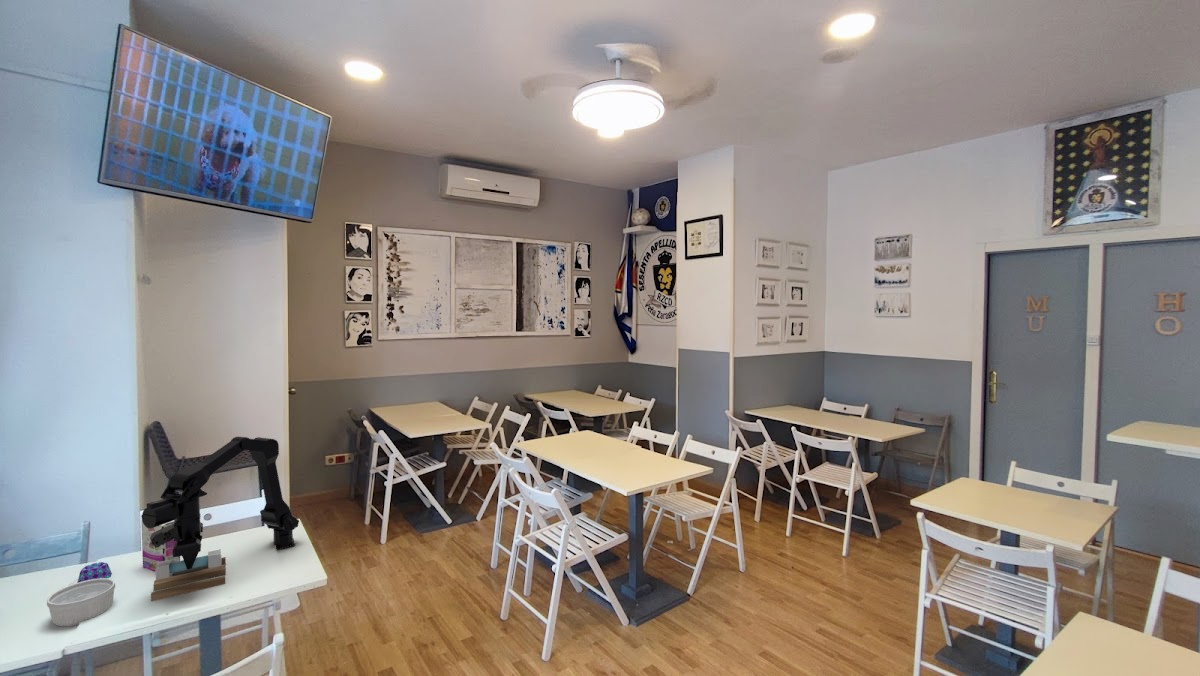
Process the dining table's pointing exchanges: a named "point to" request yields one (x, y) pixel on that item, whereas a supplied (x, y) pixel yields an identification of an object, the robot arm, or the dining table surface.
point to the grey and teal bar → (166, 567)
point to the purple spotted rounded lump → (93, 572)
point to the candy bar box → (159, 553)
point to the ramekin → (81, 601)
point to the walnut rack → (184, 579)
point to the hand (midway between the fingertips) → (189, 566)
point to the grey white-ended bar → (191, 570)
